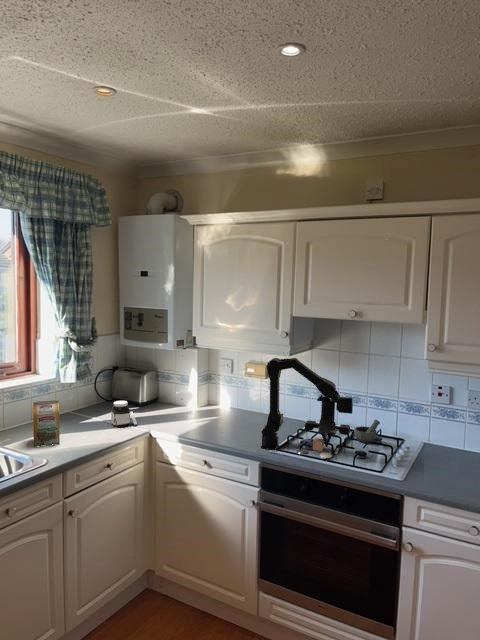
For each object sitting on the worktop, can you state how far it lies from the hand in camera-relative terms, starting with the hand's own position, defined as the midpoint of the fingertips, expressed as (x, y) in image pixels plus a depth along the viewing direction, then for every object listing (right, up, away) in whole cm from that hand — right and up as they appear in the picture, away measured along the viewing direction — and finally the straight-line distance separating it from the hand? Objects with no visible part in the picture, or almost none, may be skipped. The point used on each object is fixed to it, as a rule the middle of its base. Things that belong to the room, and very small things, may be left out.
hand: (326, 446), depth 210 cm
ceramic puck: (-1, -3, -6) cm, 7 cm away
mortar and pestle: (+20, -2, +12) cm, 24 cm away
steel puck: (-11, -3, -3) cm, 11 cm away
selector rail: (-4, -3, +2) cm, 5 cm away
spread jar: (-95, +2, +36) cm, 102 cm away
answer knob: (-3, -1, +1) cm, 4 cm away
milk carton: (-124, 0, +10) cm, 125 cm away
